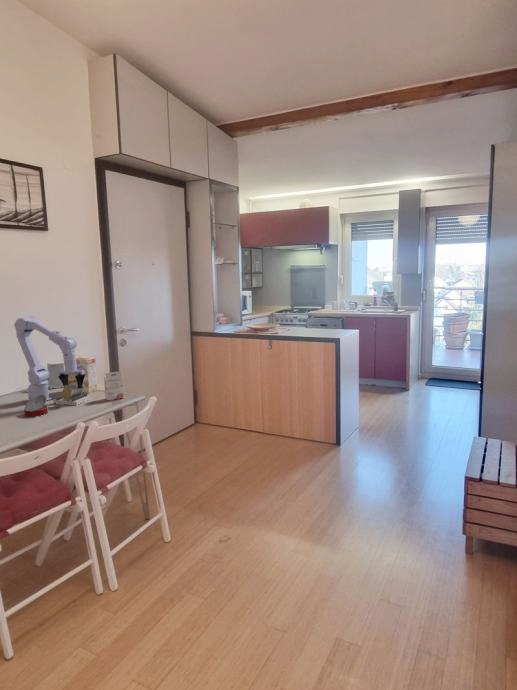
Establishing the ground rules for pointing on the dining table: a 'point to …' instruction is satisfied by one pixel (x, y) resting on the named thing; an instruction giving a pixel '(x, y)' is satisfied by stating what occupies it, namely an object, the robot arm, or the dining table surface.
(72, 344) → the robot arm
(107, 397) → the ink cartridge box
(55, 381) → the skincare box
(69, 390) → the housing
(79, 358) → the coffeecake box
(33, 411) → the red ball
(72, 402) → the stand
